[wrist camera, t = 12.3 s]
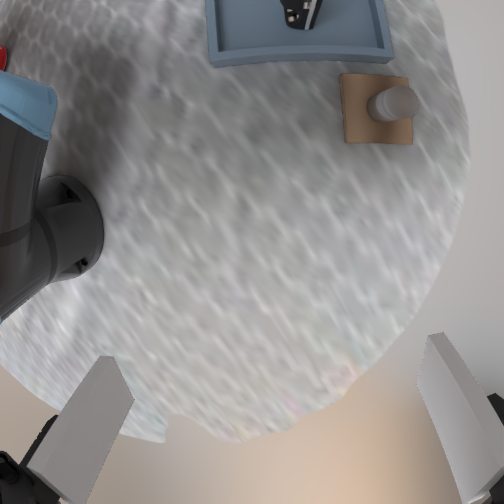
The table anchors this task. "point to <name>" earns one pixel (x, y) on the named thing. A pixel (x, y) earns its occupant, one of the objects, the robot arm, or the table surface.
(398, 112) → the wooden base with post
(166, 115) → the table surface
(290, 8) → the battery charger
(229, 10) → the parts tray
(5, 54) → the soda can
